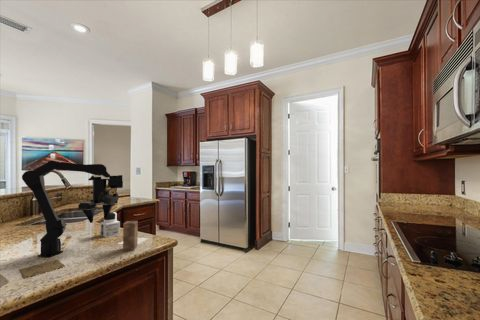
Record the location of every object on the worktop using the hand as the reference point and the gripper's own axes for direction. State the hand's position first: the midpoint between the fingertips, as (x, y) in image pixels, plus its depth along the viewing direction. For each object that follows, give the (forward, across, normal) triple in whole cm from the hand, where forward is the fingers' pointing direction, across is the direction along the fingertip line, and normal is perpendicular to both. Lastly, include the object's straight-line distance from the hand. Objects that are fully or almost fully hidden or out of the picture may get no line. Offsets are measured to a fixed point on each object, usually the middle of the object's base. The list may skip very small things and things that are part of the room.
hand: (99, 220), depth 110 cm
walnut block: (+13, 0, -18) cm, 22 cm away
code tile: (+13, +10, -12) cm, 20 cm away
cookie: (+14, -24, +3) cm, 28 cm away
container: (+13, +18, +9) cm, 24 cm away
